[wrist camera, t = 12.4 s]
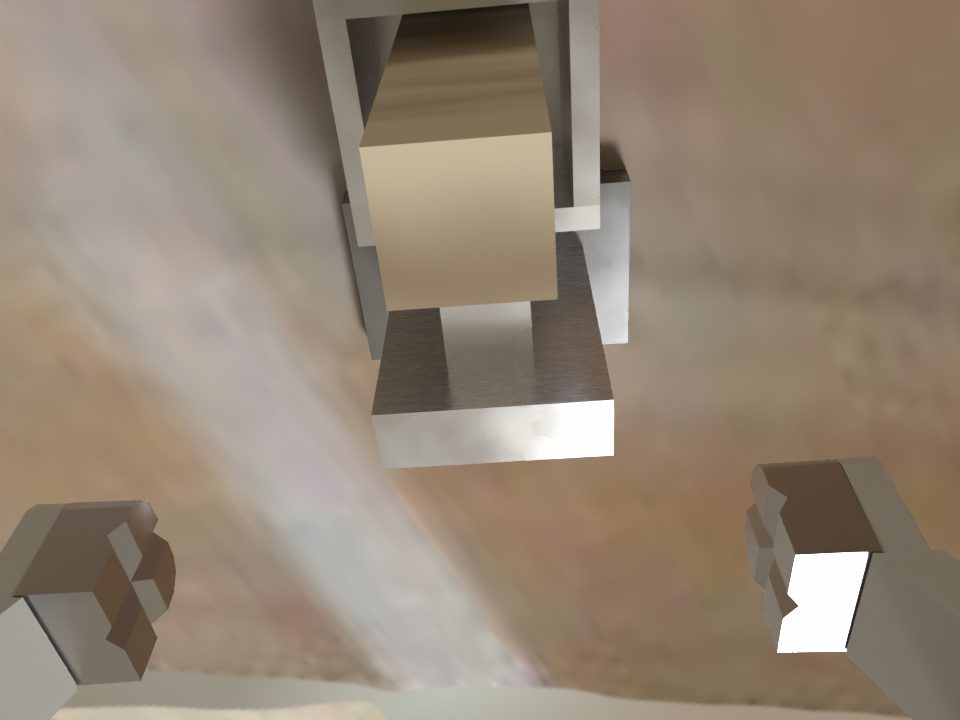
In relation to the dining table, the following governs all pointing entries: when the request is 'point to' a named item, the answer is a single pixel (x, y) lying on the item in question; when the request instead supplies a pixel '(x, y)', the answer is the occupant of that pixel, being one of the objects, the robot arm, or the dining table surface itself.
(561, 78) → the cup bracket
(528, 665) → the dining table surface
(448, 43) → the rail post
